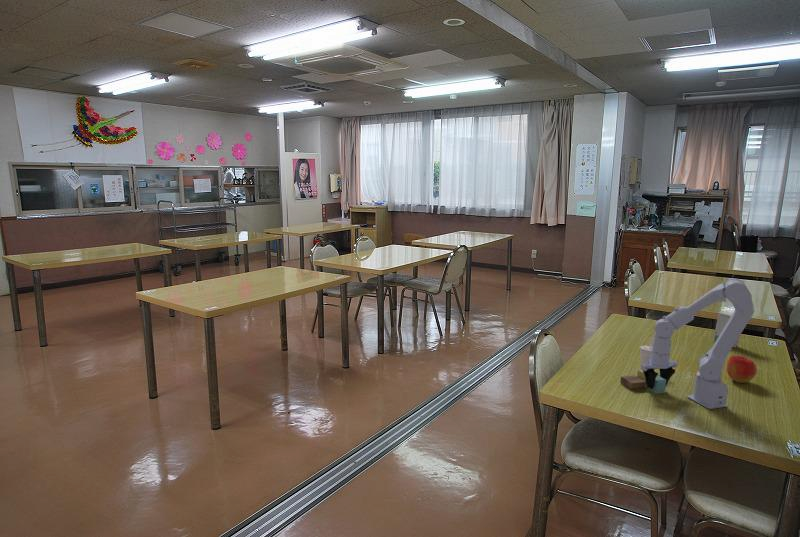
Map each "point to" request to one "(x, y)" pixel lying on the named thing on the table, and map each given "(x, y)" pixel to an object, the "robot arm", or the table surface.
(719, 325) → the skincare box
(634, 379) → the walnut slab
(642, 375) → the mustard block
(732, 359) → the apple
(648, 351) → the smoothie
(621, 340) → the table surface
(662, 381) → the teal block
